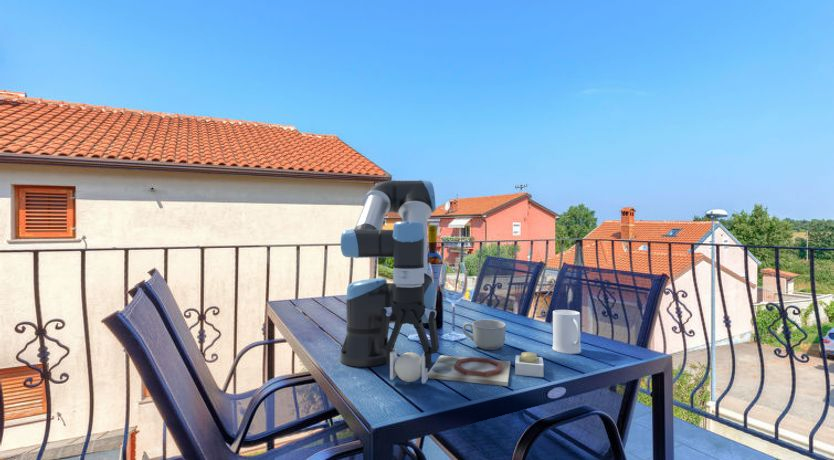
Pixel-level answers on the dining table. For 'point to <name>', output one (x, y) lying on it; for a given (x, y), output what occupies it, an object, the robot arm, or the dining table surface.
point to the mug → (566, 331)
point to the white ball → (409, 367)
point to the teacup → (487, 333)
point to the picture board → (471, 370)
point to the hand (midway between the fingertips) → (408, 379)
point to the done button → (529, 357)
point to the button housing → (529, 367)
